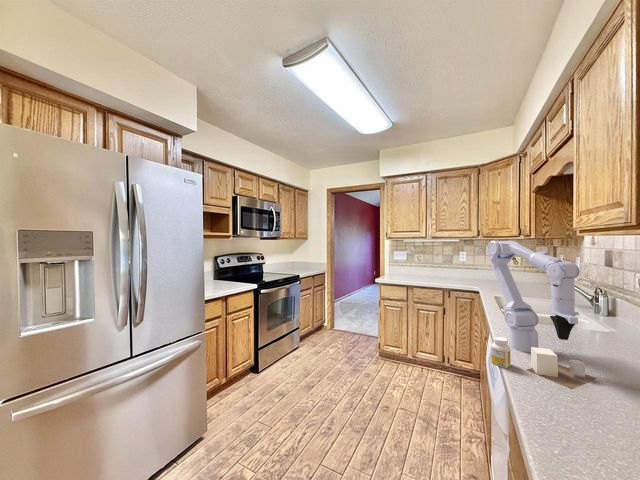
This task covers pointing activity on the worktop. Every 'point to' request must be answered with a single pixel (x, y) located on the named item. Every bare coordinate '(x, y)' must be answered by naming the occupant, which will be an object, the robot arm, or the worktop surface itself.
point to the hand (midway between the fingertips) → (562, 339)
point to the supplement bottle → (500, 352)
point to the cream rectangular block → (544, 361)
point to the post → (577, 369)
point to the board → (565, 377)
